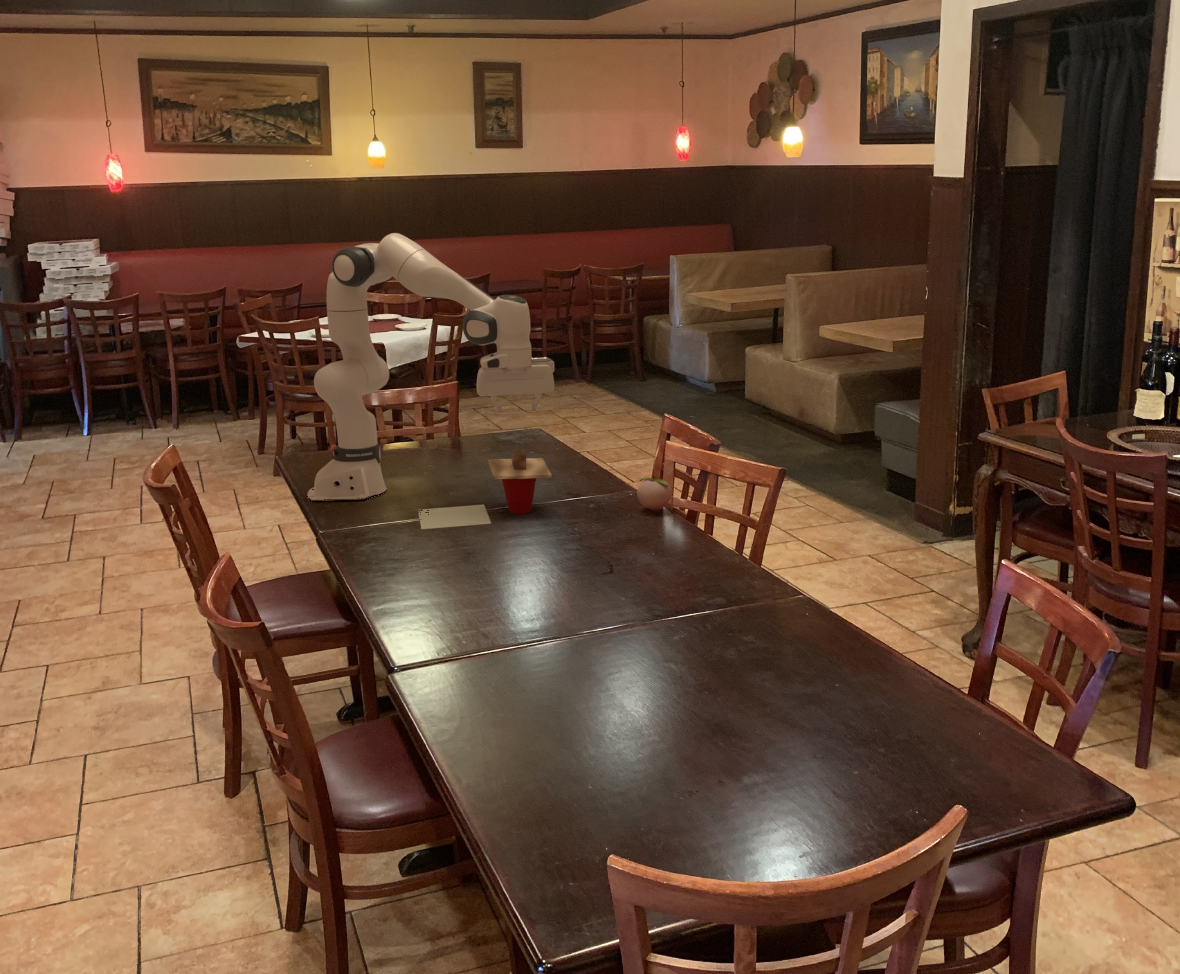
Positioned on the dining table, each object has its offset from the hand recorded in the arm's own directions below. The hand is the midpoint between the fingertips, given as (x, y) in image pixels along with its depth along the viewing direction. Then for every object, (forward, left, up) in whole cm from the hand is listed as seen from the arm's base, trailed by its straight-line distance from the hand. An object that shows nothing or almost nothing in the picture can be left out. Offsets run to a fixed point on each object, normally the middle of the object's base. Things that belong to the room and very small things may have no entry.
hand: (516, 411), depth 290 cm
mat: (-18, 0, -28) cm, 33 cm away
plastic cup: (0, 0, -28) cm, 28 cm away
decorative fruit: (+35, -9, -28) cm, 45 cm away
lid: (0, 0, -16) cm, 16 cm away
